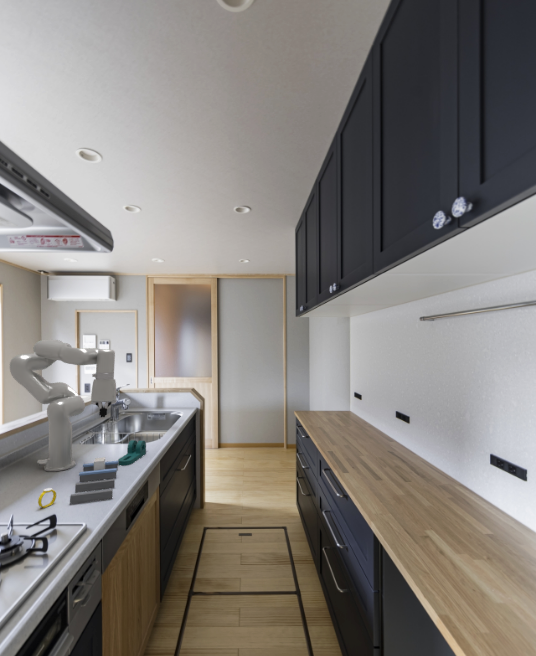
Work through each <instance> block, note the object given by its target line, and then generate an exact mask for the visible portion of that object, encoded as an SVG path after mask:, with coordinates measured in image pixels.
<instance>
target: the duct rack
mask: <svg viewBox="0 0 536 656" xmlns="http://www.w3.org/2000/svg"><path fill="white" fill-rule="evenodd" d="M118 467H119V465H118V460H110V461H105V469H104V470H95V471H94V462H91V463H83V464H82V468H83V469H82V470H83V471H80V472H79V474H78V476H79V482H82V483H78V482H77V483H75V485H74V493H71V494H70V496H69V499H70V500H69V505H78V504H85V503H91V502H92V503H93V502H99V501H100V500H101V501H108V500H113V498H112V497H113V494H114V493H113V492H114V491H113V489H115V484H116V482H115V480H116V479H117V471H118V469H119V468H118ZM113 478H116V479H113ZM104 479H108V480H104ZM97 480H99V481H97ZM88 481H91V482H88ZM109 488H111V489H109ZM102 489H103V490H102ZM94 490H95V491H94ZM85 491H87V492H85ZM107 499H108V500H107ZM101 501H100V502H101Z"/></svg>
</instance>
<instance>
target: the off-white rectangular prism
mask: <svg viewBox="0 0 536 656" xmlns="http://www.w3.org/2000/svg"><path fill="white" fill-rule="evenodd" d="M105 462H106V457H104V456H103V457H96V458H94V460H93V463H94V471H95V470H104V469H105Z"/></svg>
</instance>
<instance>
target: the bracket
mask: <svg viewBox="0 0 536 656" xmlns="http://www.w3.org/2000/svg"><path fill="white" fill-rule="evenodd" d="M146 454H147V442H146V440H133V439H130V440H129V442H128V444H127V453H126V454H125V455H123V456H121V457H120V458H118V460H117V461H118V464H119V465H118V466H120V465H121V466H123V467H125V466H130V465H132V464H134V463H135V461H136V462H137V461H139V460H140V459H141V458H143V457H144V456H145V455H146ZM143 455H144V456H143ZM142 456H143V457H142ZM139 458H140V459H139ZM121 466H120V467H121Z"/></svg>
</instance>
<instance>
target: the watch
mask: <svg viewBox="0 0 536 656" xmlns="http://www.w3.org/2000/svg"><path fill="white" fill-rule="evenodd" d="M47 493H52V495H53V496H52V499H51V500H50V502H49V503H47V504H45V505H43V504H42V500H43V498H44V496H45V495H46V494H47ZM56 499H57V492H56V490H54V489H53V488H52V487H47V488H44V489H43V491H42V492H41V493H40V495H39V497H38V498H37V504H38V506H39V507H40V508H44V509H45V508H48V507H50V506H53V504H54V503H55V501H56Z"/></svg>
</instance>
